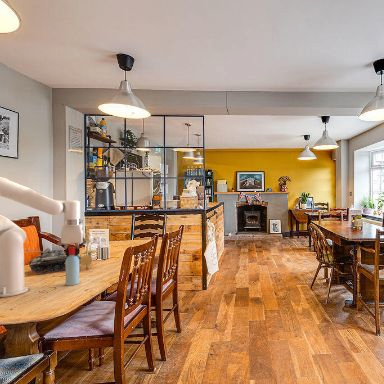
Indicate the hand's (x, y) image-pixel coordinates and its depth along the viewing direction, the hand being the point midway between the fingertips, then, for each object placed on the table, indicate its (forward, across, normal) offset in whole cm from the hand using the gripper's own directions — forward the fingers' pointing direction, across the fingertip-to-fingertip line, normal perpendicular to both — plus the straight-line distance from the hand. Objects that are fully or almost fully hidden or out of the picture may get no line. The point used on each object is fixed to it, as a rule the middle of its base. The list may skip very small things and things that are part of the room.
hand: (72, 255), depth 157 cm
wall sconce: (+16, -3, -31) cm, 35 cm away
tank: (+16, +17, -37) cm, 43 cm away
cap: (-1, 0, 0) cm, 1 cm away
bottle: (+15, 0, 0) cm, 15 cm away
